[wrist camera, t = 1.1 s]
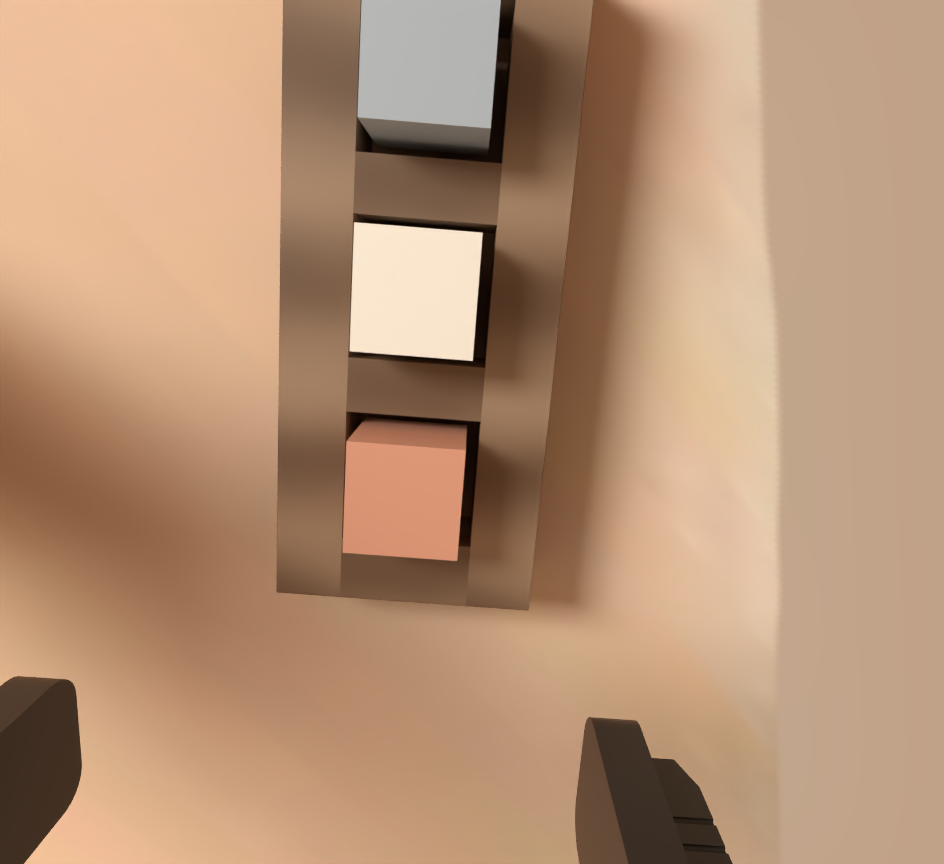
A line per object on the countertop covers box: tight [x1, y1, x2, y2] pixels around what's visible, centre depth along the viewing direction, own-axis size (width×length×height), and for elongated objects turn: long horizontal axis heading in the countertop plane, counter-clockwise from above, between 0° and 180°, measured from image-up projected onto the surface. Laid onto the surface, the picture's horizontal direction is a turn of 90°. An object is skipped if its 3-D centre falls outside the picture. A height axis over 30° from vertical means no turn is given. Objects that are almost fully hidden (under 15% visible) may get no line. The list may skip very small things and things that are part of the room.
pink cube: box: [343, 418, 467, 561], centre depth 24 cm, size 4×4×4 cm
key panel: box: [277, 0, 593, 610], centre depth 25 cm, size 24×10×4 cm, turn 176°
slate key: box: [357, 0, 501, 156], centre depth 21 cm, size 4×4×4 cm
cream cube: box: [350, 222, 483, 361], centre depth 22 cm, size 4×4×4 cm
